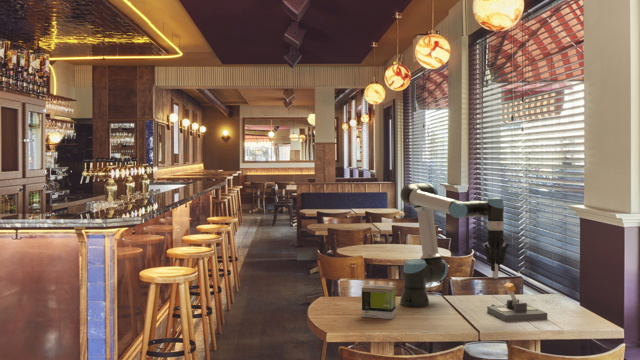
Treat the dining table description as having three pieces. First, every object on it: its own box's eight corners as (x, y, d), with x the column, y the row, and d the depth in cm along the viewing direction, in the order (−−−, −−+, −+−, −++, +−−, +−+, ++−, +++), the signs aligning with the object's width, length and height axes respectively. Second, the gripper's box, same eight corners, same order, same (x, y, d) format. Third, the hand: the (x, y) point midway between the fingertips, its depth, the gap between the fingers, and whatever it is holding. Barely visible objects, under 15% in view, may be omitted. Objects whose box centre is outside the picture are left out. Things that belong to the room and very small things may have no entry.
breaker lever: (518, 310, 287) (508, 287, 285) (512, 308, 292) (503, 285, 290) (523, 308, 287) (513, 284, 286) (517, 305, 292) (508, 282, 291)
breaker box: (505, 321, 278) (505, 307, 278) (479, 308, 304) (479, 295, 304) (547, 319, 283) (547, 304, 283) (518, 306, 308) (518, 293, 308)
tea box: (395, 314, 291) (396, 285, 290) (391, 320, 281) (391, 289, 281) (366, 312, 295) (366, 283, 295) (361, 317, 286) (361, 287, 286)
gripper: (486, 230, 281) (486, 279, 281) (511, 229, 283) (511, 278, 284) (479, 229, 288) (479, 276, 289) (503, 228, 291) (503, 275, 291)
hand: (495, 277), depth 286 cm, fingers closed
